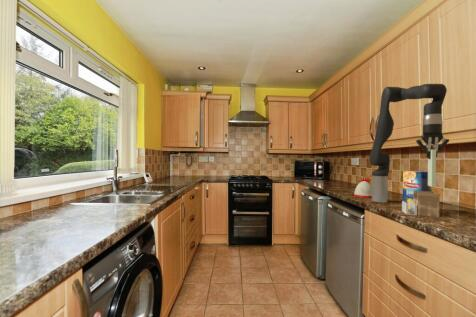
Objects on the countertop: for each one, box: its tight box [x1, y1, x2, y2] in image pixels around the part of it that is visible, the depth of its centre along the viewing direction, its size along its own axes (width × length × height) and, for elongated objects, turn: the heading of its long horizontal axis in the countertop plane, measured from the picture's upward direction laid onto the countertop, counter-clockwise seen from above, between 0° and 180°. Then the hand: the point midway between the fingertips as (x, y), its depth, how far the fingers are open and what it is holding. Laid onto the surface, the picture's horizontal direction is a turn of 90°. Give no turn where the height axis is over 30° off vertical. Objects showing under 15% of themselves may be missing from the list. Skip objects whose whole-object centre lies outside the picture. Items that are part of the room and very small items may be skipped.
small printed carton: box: [401, 200, 418, 216], centre depth 122 cm, size 10×4×6 cm, turn 155°
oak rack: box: [413, 191, 440, 218], centre depth 119 cm, size 9×8×12 cm
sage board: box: [427, 149, 437, 188], centre depth 118 cm, size 6×2×18 cm, turn 155°
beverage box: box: [402, 170, 433, 210], centre depth 130 cm, size 7×11×22 cm, turn 11°
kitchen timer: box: [353, 176, 372, 199], centre depth 181 cm, size 14×14×15 cm
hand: (431, 158), depth 118 cm, fingers closed on sage board, 1 cm apart
